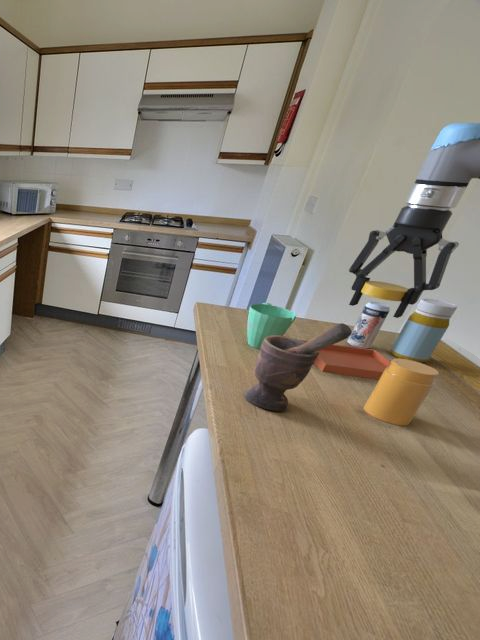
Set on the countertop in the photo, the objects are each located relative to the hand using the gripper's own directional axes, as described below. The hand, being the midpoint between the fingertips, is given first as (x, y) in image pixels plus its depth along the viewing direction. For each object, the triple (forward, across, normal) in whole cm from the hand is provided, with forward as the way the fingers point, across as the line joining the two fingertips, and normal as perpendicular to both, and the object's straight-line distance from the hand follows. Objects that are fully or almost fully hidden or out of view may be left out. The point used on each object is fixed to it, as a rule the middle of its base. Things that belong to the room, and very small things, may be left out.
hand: (374, 310), depth 95 cm
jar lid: (-5, 0, 0) cm, 5 cm away
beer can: (+14, -3, +16) cm, 22 cm away
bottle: (+14, +6, +20) cm, 25 cm away
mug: (+14, -17, -8) cm, 24 cm away
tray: (+14, 0, 0) cm, 14 cm away
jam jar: (+14, +14, -20) cm, 28 cm away
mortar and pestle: (+14, +2, -38) cm, 41 cm away
